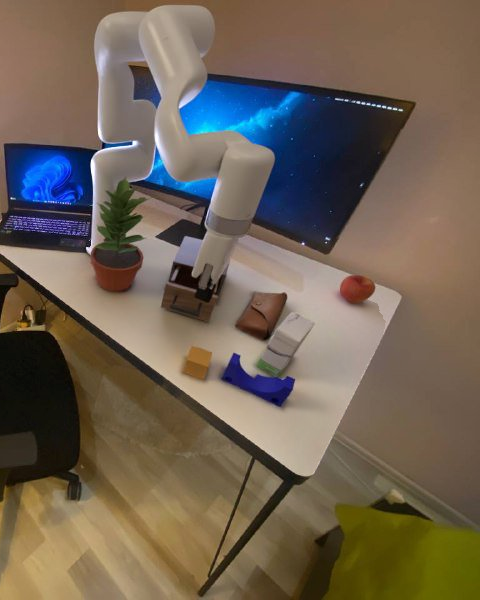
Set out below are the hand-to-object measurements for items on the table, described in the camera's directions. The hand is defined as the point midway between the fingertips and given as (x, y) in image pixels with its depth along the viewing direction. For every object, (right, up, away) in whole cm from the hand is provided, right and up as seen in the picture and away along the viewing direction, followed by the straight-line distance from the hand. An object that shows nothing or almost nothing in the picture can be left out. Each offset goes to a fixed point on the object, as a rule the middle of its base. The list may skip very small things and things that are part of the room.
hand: (202, 298), depth 73 cm
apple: (+49, 0, +23) cm, 54 cm away
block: (0, -16, +4) cm, 16 cm away
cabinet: (+8, +5, +27) cm, 29 cm away
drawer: (+3, -2, +19) cm, 19 cm away
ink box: (+18, -15, +6) cm, 24 cm away
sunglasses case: (+21, -5, +17) cm, 28 cm away
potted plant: (-16, +5, +28) cm, 33 cm away
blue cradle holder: (+11, -19, +1) cm, 22 cm away
